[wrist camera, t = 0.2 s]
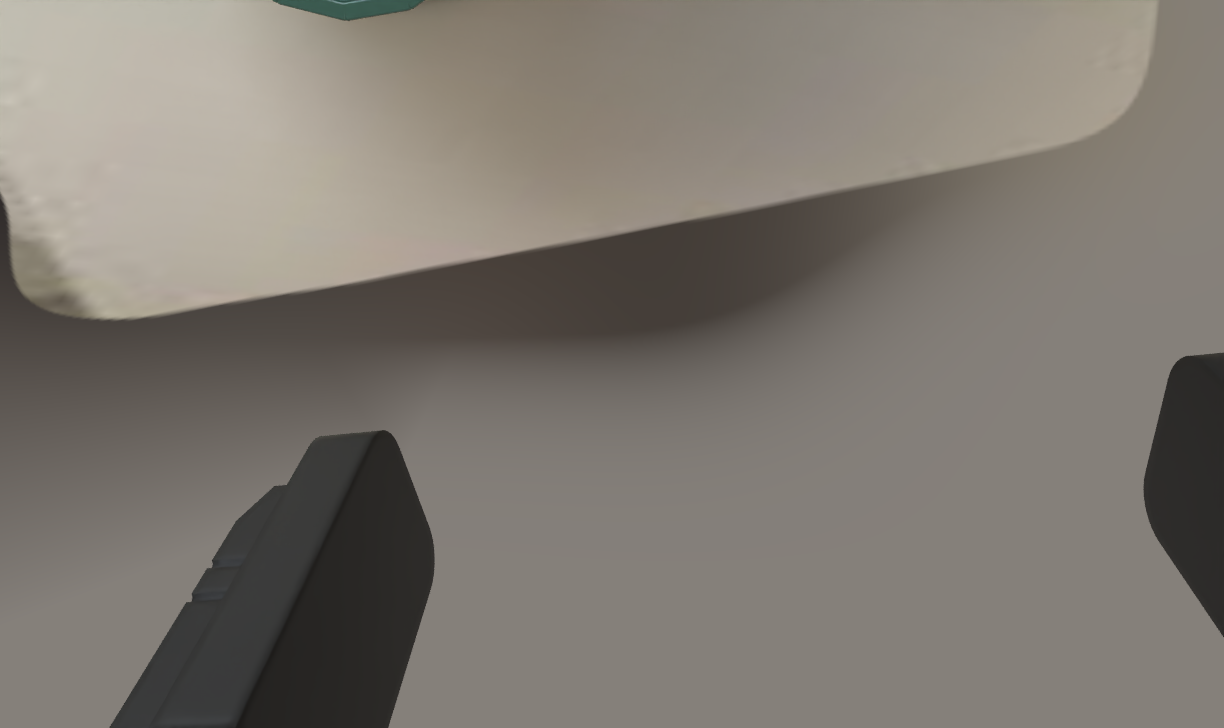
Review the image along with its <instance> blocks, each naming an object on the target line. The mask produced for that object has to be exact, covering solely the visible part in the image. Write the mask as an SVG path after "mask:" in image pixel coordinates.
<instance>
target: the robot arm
mask: <svg viewBox="0 0 1224 728" xmlns="http://www.w3.org/2000/svg"><path fill="white" fill-rule="evenodd" d="M1144 500H1145V507H1146V511H1147V515H1148V518H1149V522H1150V524H1151V527H1152V529H1153V531H1154V533H1155V536H1156V537H1157V539H1158V541H1159V542H1160V544H1161V545H1162V546H1163V548H1164V549H1165V551H1166V553H1167V554H1168V555H1169V557H1170V558H1171V560H1172V561H1173V563H1174V564H1175V566H1176V567H1177V569H1178V570H1179V572H1180V573H1181V574H1182V576H1183V578H1184V579H1185V581H1186V582H1187V584H1188V585H1189V586H1190V588H1191V589H1192V591H1193V593H1194V594H1195V595H1196V597H1197V598H1198V599H1199V601H1200V603H1201V604H1202V606H1203V607H1204V609H1205V610H1206V612H1207V613H1208V615H1209V616H1210V618H1211V619H1212V621H1213V622H1214V623H1215V625H1216V626H1217V628H1218V629H1219V630H1220V632H1221V634H1222V635H1223V637H1224V353H1216V354H1205V355H1194V356H1185V357H1183V358H1181V359H1180V360H1178V361H1177V362H1176V364H1175V365H1174V366H1173V368H1172V370H1171V372H1170V375H1169V378H1168V382H1167V386H1166V390H1165V394H1164V398H1163V402H1162V407H1161V411H1160V415H1159V419H1158V423H1157V427H1156V432H1155V435H1154V439H1153V444H1152V448H1151V452H1150V456H1149V460H1148V464H1147V468H1146V473H1145V478H1144ZM212 562H213V567H212V568H208V569H207V570H206V571H205V573H204V574H203V576H202V578H201V579H200V581H199V583H198V584H197V586H196V588H195V589H194V591H193V593H192V597H193V598H192V602H187V603H186V604H185V606H184V607H183V609H182V610H181V612H180V614H179V615H178V617H177V619H176V620H175V622H174V623H173V625H172V627H171V628H170V630H169V632H168V633H167V635H166V636H165V638H164V640H163V641H162V643H161V645H160V646H159V648H158V650H157V651H156V653H155V654H154V656H153V658H152V659H151V661H150V662H149V664H148V666H147V667H146V669H145V671H144V672H143V674H142V676H141V677H140V679H139V680H138V682H137V684H136V685H135V687H134V689H133V690H132V692H131V694H130V695H129V697H128V698H127V700H126V702H125V703H124V705H123V707H122V708H121V710H120V711H119V713H118V715H117V716H116V718H115V720H114V721H113V723H112V724H111V726H110V728H388V726H389V723H390V720H391V716H392V713H393V710H394V707H395V703H396V700H397V697H398V694H399V690H400V687H401V684H402V681H403V677H404V674H405V671H406V668H407V664H408V661H409V658H410V655H411V651H412V648H413V645H414V642H415V638H416V635H417V632H418V629H419V625H420V622H421V619H422V616H423V612H424V609H425V606H426V603H427V600H428V596H429V593H430V590H431V586H432V582H433V576H434V545H433V539H432V535H431V531H430V528H429V525H428V522H427V520H426V517H425V515H424V512H423V509H422V506H421V504H420V501H419V499H418V496H417V493H416V491H415V488H414V486H413V483H412V480H411V477H410V475H409V472H408V469H407V467H406V464H405V462H404V459H403V456H402V454H401V451H400V448H399V446H398V444H397V442H396V440H395V438H394V437H393V436H392V434H391V433H389V432H388V431H385V430H382V431H371V432H362V433H350V434H340V435H330V436H320V437H318V438H316V439H315V440H314V441H313V442H312V443H311V444H310V446H309V447H308V449H307V451H306V453H305V455H304V456H303V458H302V460H301V461H300V463H299V465H298V467H297V468H296V470H295V472H294V474H293V475H292V477H291V479H290V481H289V482H288V484H287V485H283V486H274V487H273V488H272V489H271V490H270V491H269V492H268V493H267V494H265V495H264V496H263V497H262V498H261V499H260V500H259V501H258V502H257V503H255V504H254V505H253V506H252V507H251V508H250V509H249V510H248V511H247V512H246V513H245V514H244V515H242V516H241V517H240V518H239V519H238V520H237V521H236V522H235V524H234V526H233V527H232V529H231V530H230V532H229V534H228V535H227V537H226V539H225V540H224V542H223V543H222V545H221V547H220V548H219V550H218V552H217V553H216V555H215V557H214V558H213V560H212Z"/></svg>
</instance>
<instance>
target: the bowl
mask: <svg viewBox="0 0 1224 728" xmlns="http://www.w3.org/2000/svg"><path fill="white" fill-rule="evenodd" d="M273 1H274V2H276V3H278V4H280V5H284V6H288V7H292V8H296V9H300V10H304V11H308V12H312V13H316V14H320V15H324V16H328V17H332V18H336V19H340V20H343V21H345V20H347V21H350V20H356V19H362V18H368V17H374V16H379V15H385V14H391V13H397V12H403V11H408V10H411V9H414V8H415V7H416V6H418V5H419V4H420V3H422V2H423V1H425V0H273Z"/></svg>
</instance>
